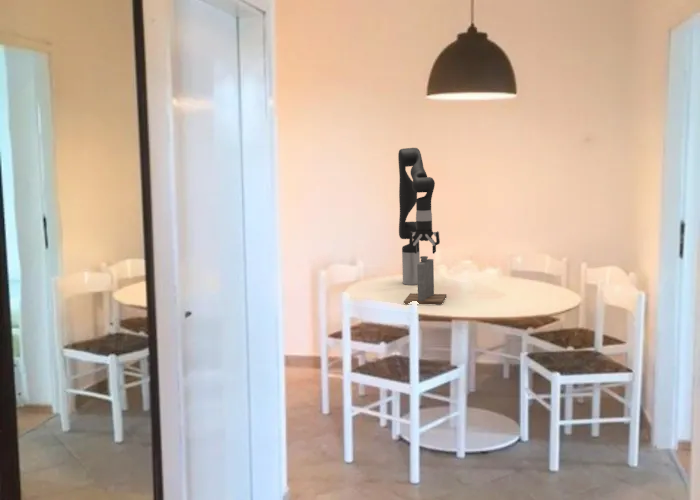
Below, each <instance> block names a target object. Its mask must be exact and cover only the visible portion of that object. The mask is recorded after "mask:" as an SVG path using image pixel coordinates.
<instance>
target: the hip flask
mask: <svg viewBox="0 0 700 500" xmlns="http://www.w3.org/2000/svg"><path fill="white" fill-rule="evenodd" d="M434 266H435V265H434V259H433V258H429V256H427V255H424V256H422V255H420V262H419V263H418V264H417V276H418V284H417V294H418V301H424V300H425V299H426V298H428V297H430V296H433V295H434V294H435V284H434V283H435V281H434V280H435V279H434V274H435V273H434V271H435V270H434Z"/></svg>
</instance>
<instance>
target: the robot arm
mask: <svg viewBox="0 0 700 500" xmlns="http://www.w3.org/2000/svg"><path fill="white" fill-rule="evenodd" d="M397 154H398V157H397V158H398V159H397V160H398V172H399V188H398V189H399V191H398V193H399V197H398V198H399V200H398V201H399V221H398V222H399V223H398V236H399V238H400V239H401V240H409V241H408V244H406V245H403V246H402V248H401V256H402V257H401V258H402V284H403V285H408V286H409V285H410V286H411V285H412V286H414V285H418V276H417V264H418V263H419V262H421V259H420V257H421V255H420V241H421V242H424V241H425V242H428V241H429V242H430V243H431V245H432V246H431V247H432V254H434V255H435V253H436V252H437V245H440V240H441V239H440V231H433V214H432V199H433V194H434V190H435V184H436V182H435V180H434V178H433V177H431V176H430V177H429V176H428V175H427V172H426V170H425V167H424V163H423V158H422V153H421V151H420V149H419V148H418V147H408V148H407V147H406V148H401V149H399V151H398V153H397ZM408 167H411V169H410V176H411V177H410V176H409V174H408V172H407V170H406V168H408ZM419 193H420V194H421V193H426V194H425V195H424V196H421V197H418V194H419ZM415 206H416V207H415ZM414 207H415V208H416V210H415V211H416V212H415V221H407V218H408V215H409V214H410V213H411V211H412V210H413V209H414ZM433 236H434V237H435V240H436V241H434V239H433Z"/></svg>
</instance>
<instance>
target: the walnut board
mask: <svg viewBox="0 0 700 500" xmlns="http://www.w3.org/2000/svg"><path fill="white" fill-rule="evenodd" d="M447 295H448V294H447V293H434V295H433V296H430V297H428V298H426V299H425V300H424V301H418V293H409V294H408V295H407V296H406V298H405V299H404V300H403V304H404V303H405V304H404V305H409V304H408V303H410V302H412V301H417V302H418V303H419V304H442V303H443V304H444V302H445V301H444V300H446V299H447ZM445 298H446V299H445ZM443 301H444V302H443ZM443 304H442V305H443Z"/></svg>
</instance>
